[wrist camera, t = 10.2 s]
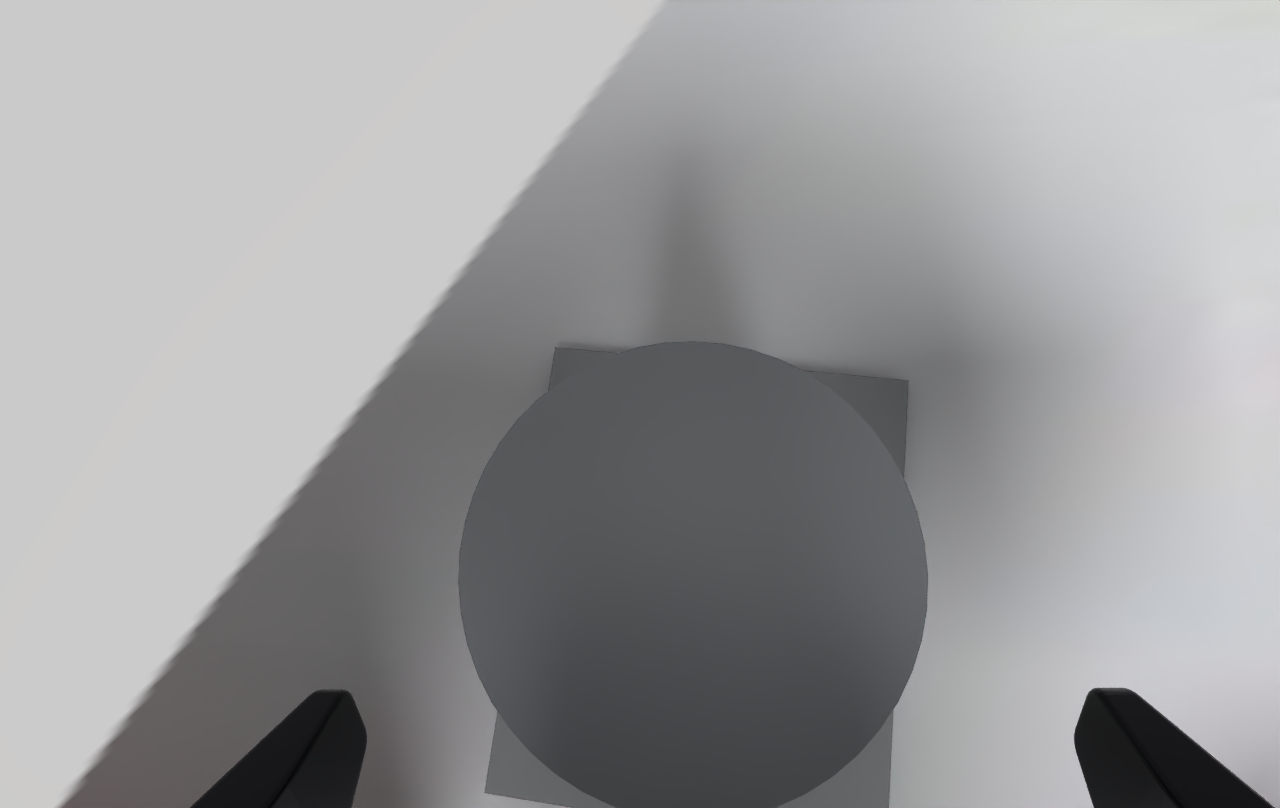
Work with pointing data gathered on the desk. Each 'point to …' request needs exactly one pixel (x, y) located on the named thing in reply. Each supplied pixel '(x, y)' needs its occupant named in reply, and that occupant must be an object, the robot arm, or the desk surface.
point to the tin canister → (693, 579)
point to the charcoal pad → (857, 791)
